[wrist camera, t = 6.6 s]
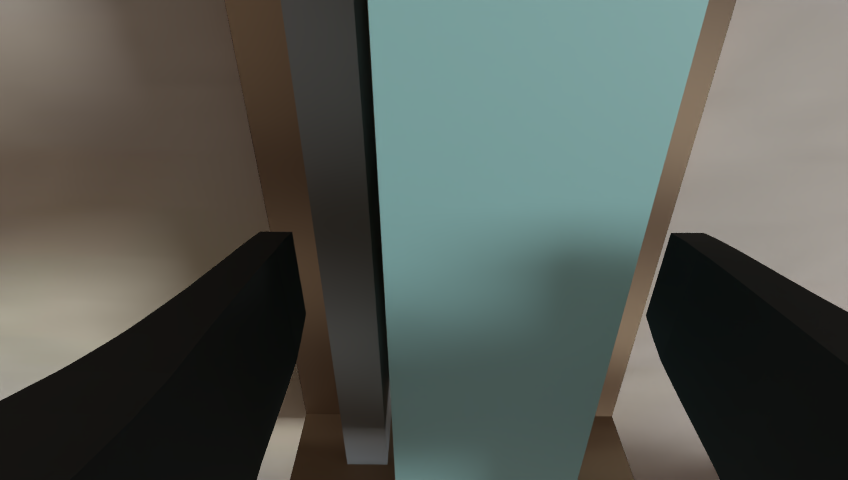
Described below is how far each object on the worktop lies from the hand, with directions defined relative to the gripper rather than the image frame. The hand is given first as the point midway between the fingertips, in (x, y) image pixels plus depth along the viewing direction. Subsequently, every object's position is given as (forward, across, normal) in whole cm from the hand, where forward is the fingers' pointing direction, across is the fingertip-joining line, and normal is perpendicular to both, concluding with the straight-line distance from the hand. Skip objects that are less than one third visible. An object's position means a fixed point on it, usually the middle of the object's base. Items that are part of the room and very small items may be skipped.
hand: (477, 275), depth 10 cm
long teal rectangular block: (+3, 0, 0) cm, 3 cm away
